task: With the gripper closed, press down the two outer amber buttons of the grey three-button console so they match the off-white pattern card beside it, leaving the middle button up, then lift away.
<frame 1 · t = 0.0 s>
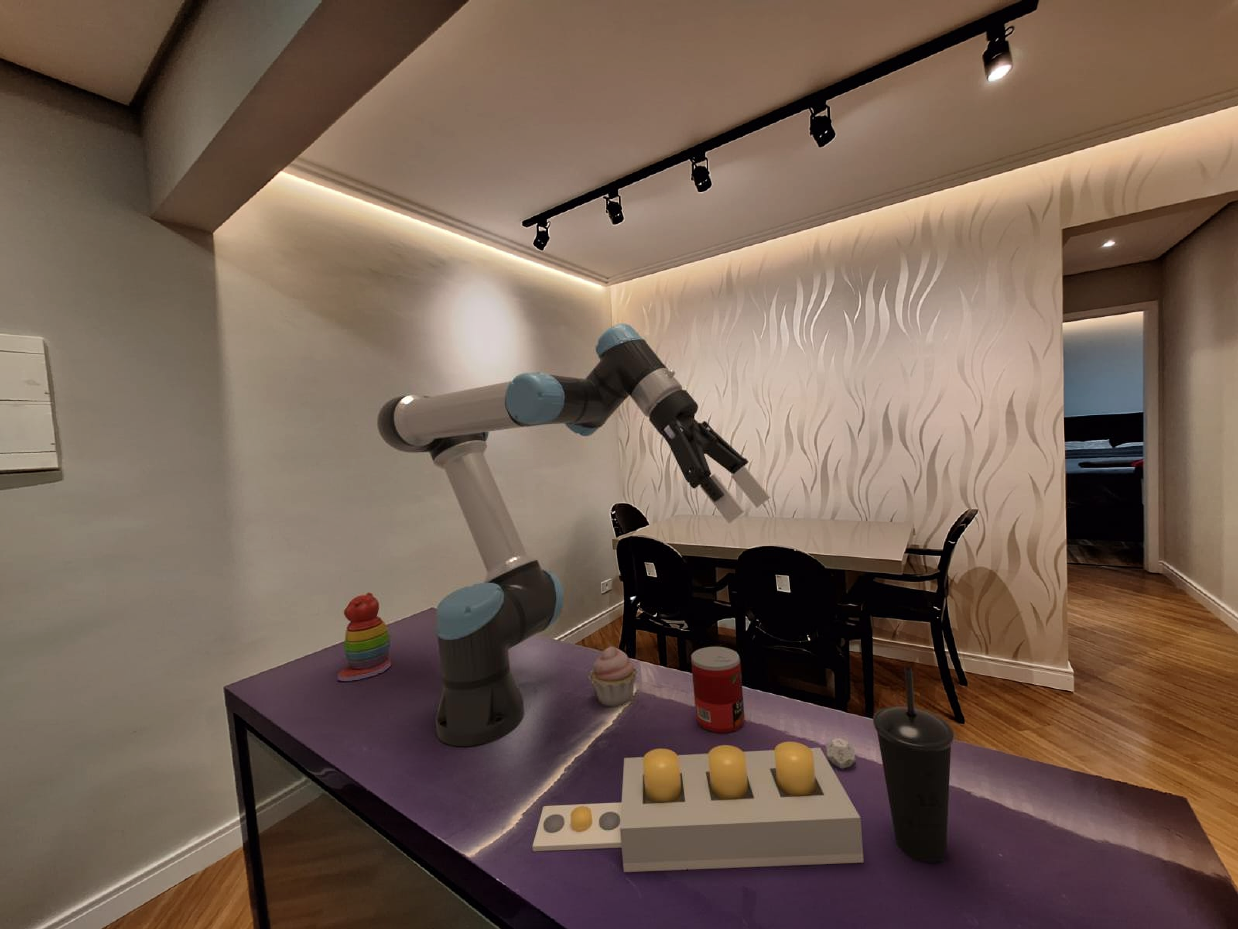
hand: (751, 509, 72), 36 cm above the table, tool tilted 35°, fingers open, 13 cm apart
stacking bear: (369, 671, 113), on the table
button left: (662, 776, 59), point 6 cm above the table, slide at 0.0 cm
button mid: (727, 772, 59), point 7 cm above the table, slide at 0.0 cm
canned food: (720, 721, 81), on the table
game die: (841, 765, 68), on the table
drinking cup: (919, 846, 54), on the table
cupcake: (616, 699, 91), on the table
pattern card: (582, 828, 61), on the table
console: (732, 824, 59), on the table
button right: (794, 769, 58), point 6 cm above the table, slide at 0.0 cm
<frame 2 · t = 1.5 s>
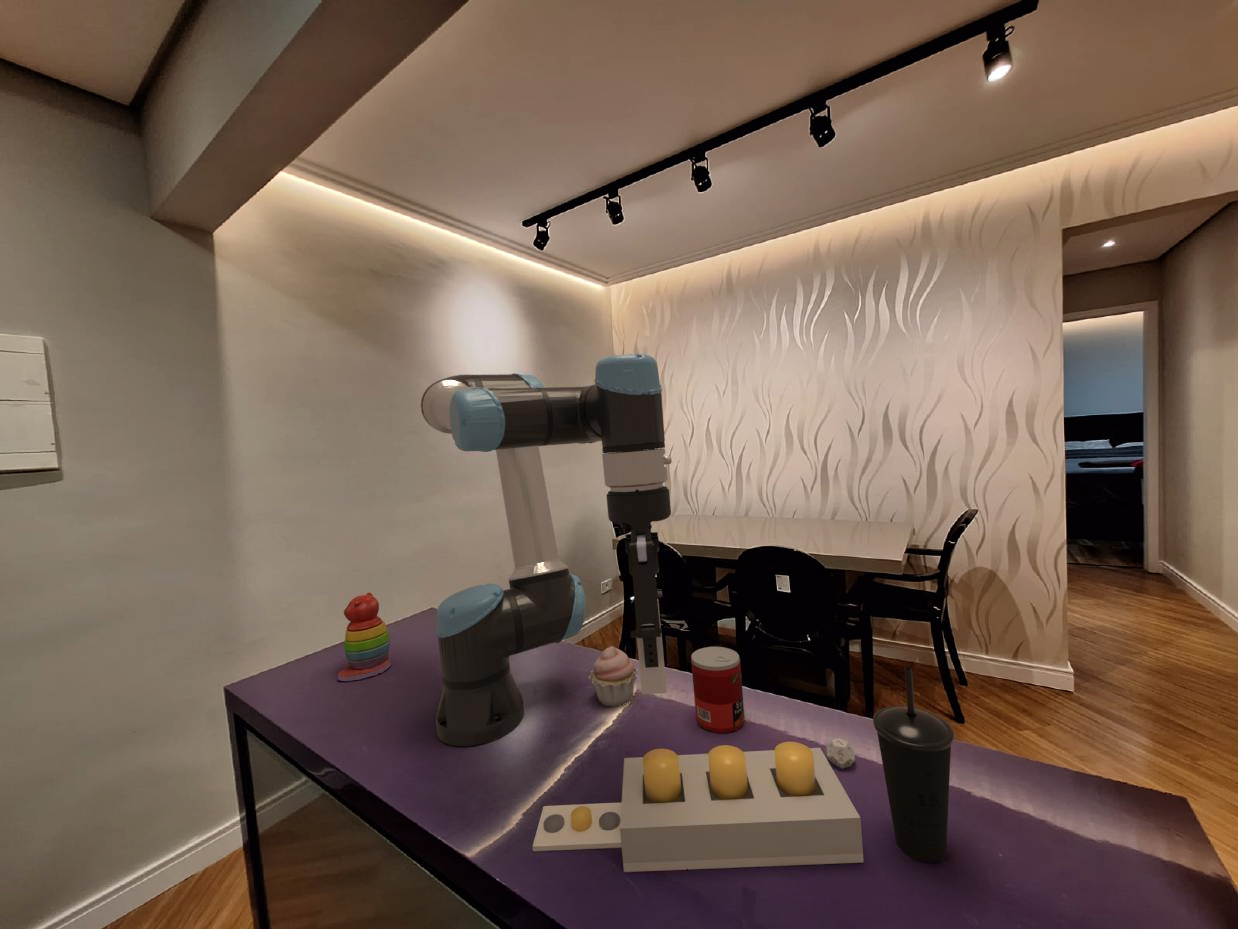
hand: (653, 668, 59), 20 cm above the table, tool pointing down, fingers open, 10 cm apart
nothing on the table moved.
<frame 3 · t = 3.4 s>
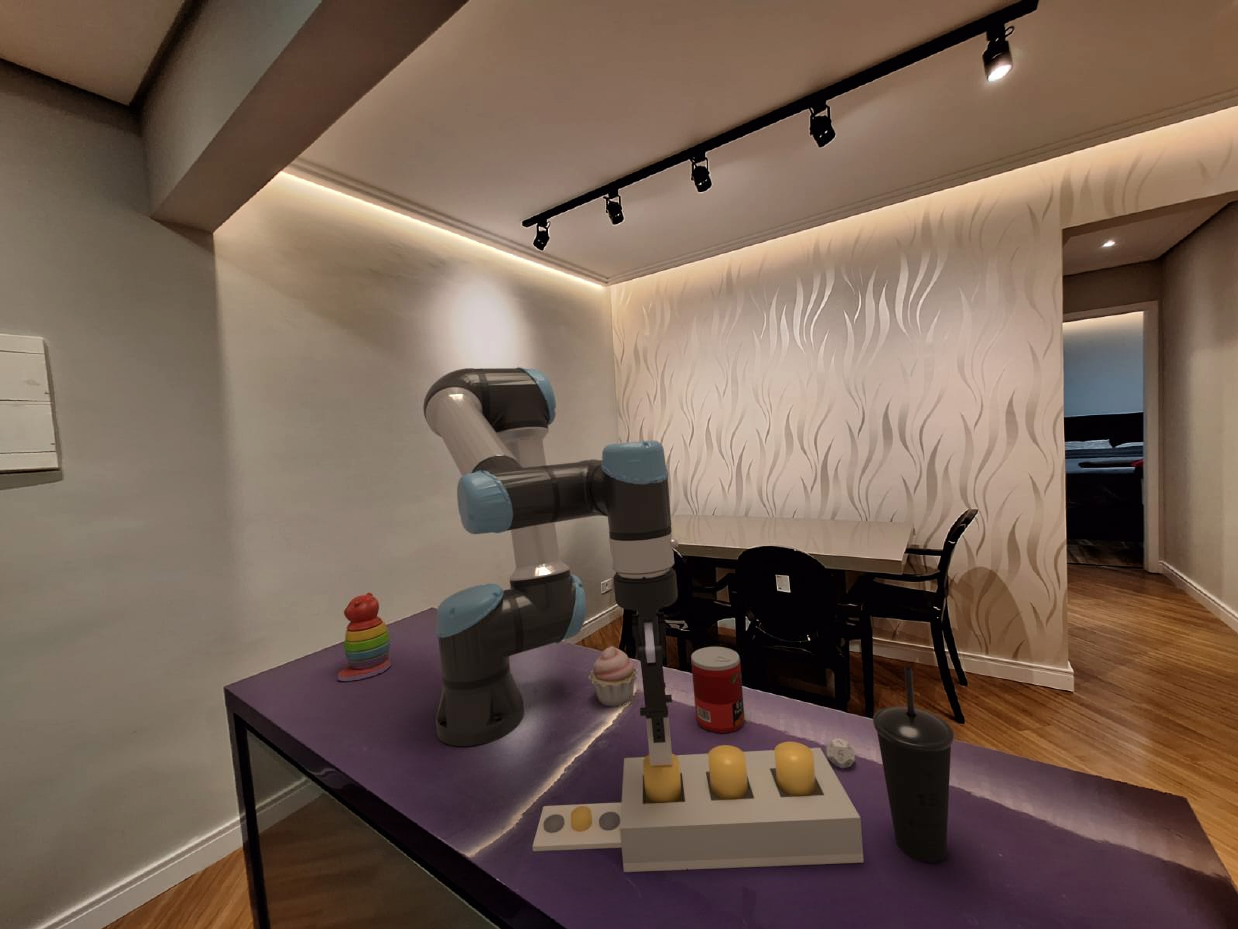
hand: (661, 761, 59), 8 cm above the table, tool pointing down, fingers closed
button left: (662, 778, 59), point 6 cm above the table, slide at 0.3 cm, touching gripper
everything else where it was.
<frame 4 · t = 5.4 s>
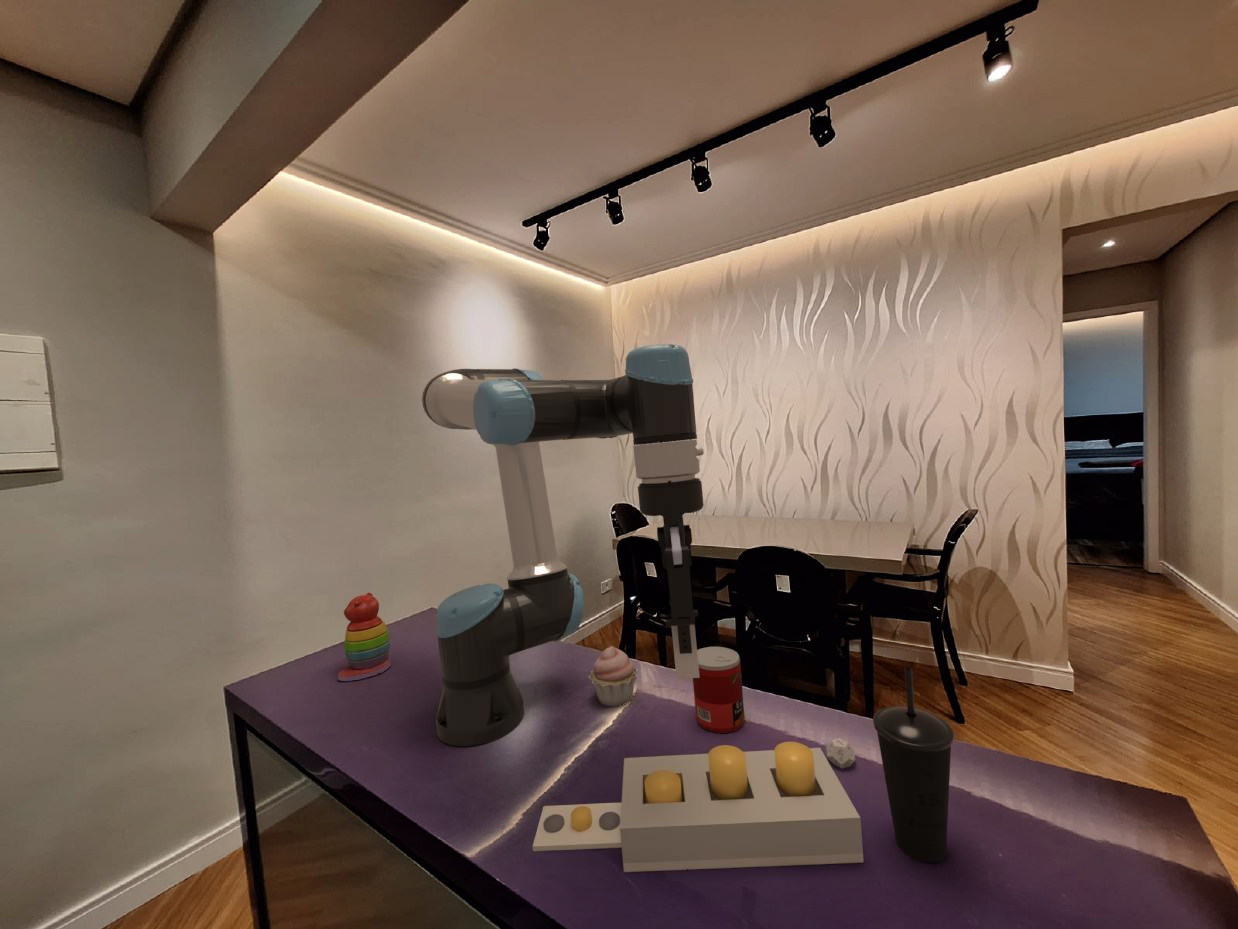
hand: (687, 675, 58), 19 cm above the table, tool pointing down, fingers closed
button left: (663, 798, 59), point 4 cm above the table, slide at 2.8 cm
everything else where it was.
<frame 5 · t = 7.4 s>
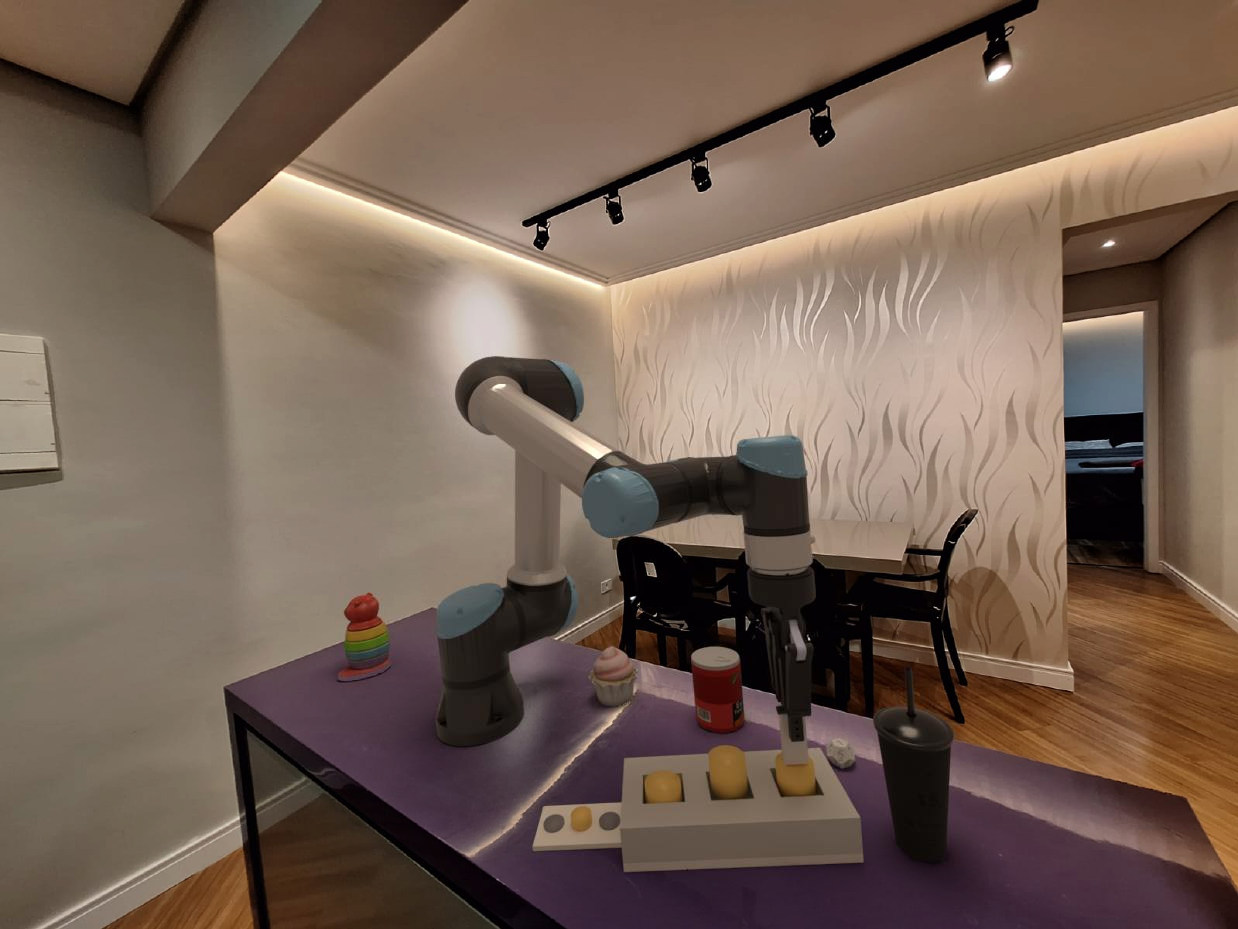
hand: (795, 760, 58), 8 cm above the table, tool pointing down, fingers closed
button right: (795, 778, 58), point 5 cm above the table, slide at 1.1 cm, touching gripper
everything else where it was.
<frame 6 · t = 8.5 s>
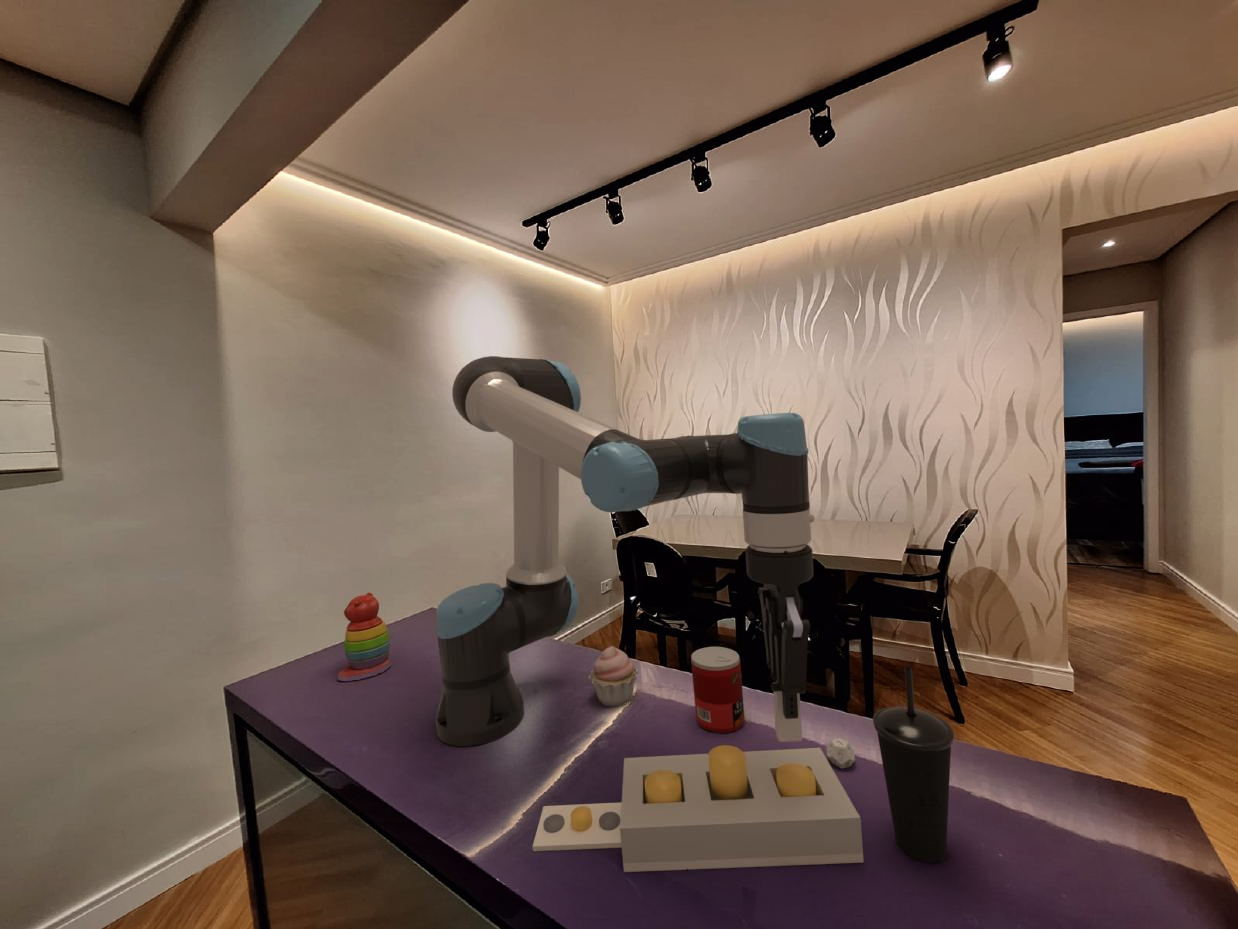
hand: (788, 737, 59), 10 cm above the table, tool pointing down, fingers closed
button right: (796, 791, 59), point 4 cm above the table, slide at 2.8 cm
everything else where it was.
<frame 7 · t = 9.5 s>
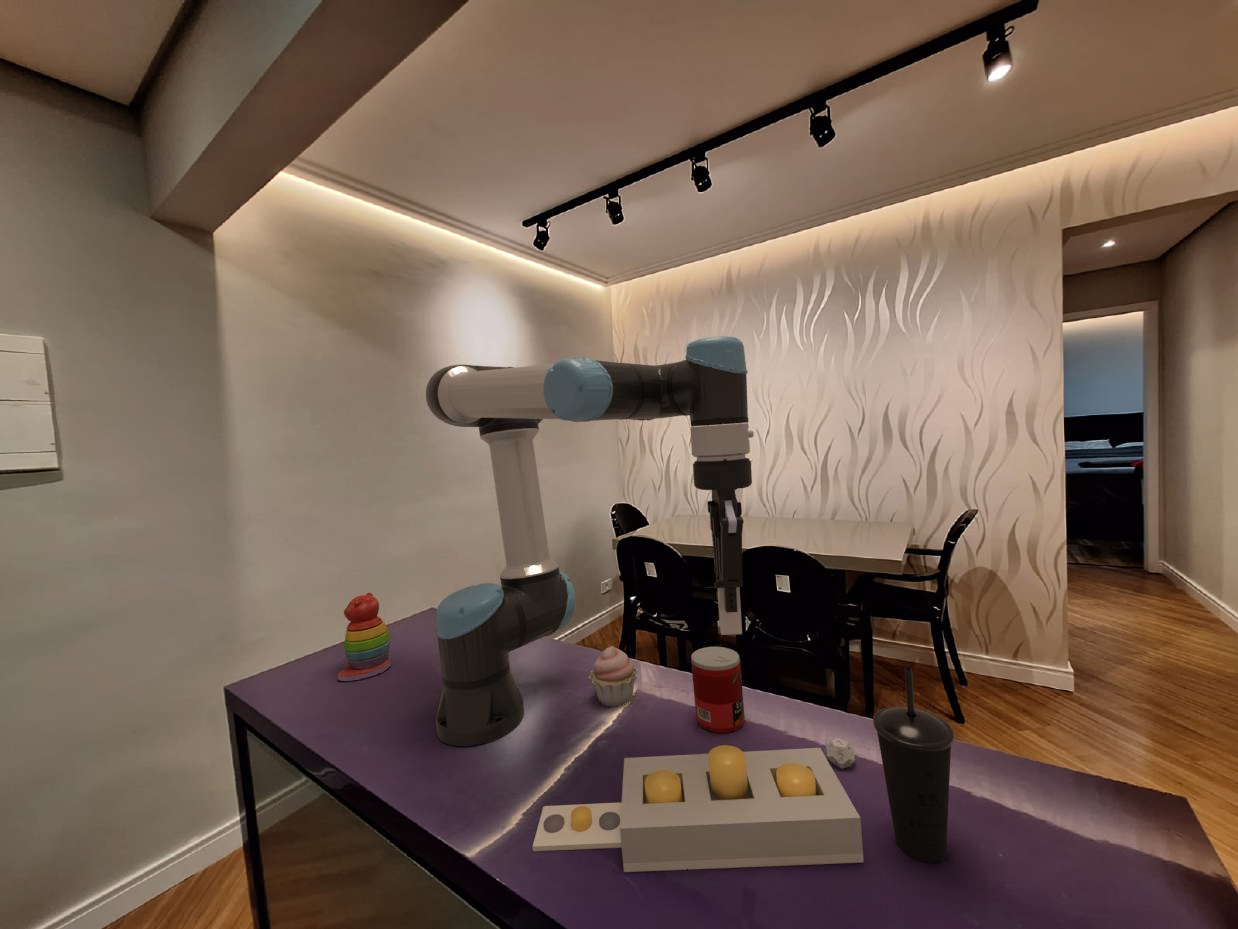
hand: (730, 632, 65), 21 cm above the table, tool pointing down, fingers closed
nothing on the table moved.
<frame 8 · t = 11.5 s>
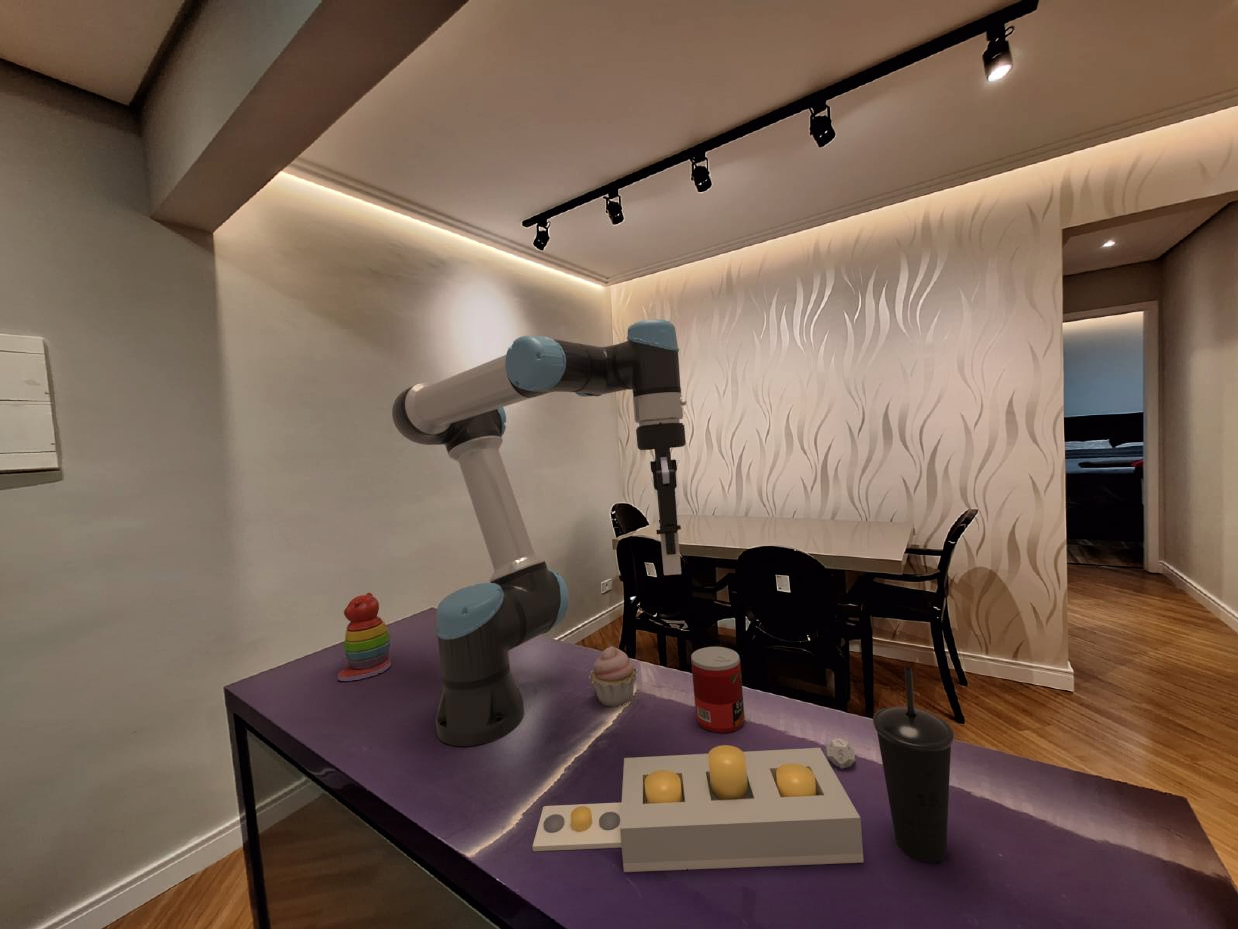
hand: (672, 573, 76), 26 cm above the table, tool pointing down, fingers closed
nothing on the table moved.
at the end: button left slide at 2.8 cm; button right slide at 2.8 cm; button mid slide at 0.0 cm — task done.
